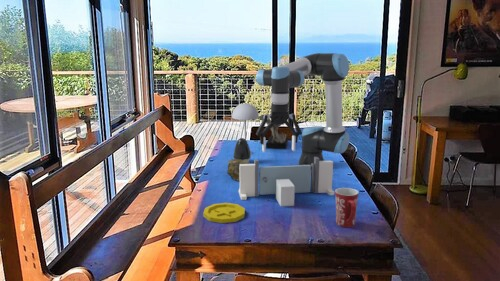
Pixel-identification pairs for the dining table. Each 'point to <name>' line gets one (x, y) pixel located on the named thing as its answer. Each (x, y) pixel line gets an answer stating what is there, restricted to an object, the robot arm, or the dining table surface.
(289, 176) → the door
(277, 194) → the white rectangular block
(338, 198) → the mug
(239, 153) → the dark grey rounded lump
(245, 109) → the lamp
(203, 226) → the dining table surface
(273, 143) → the coral
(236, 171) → the rock
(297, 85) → the robot arm
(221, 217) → the decorative disc
